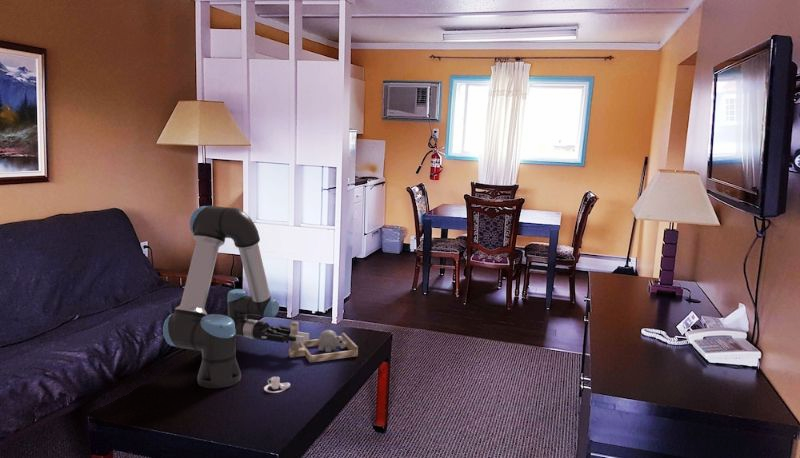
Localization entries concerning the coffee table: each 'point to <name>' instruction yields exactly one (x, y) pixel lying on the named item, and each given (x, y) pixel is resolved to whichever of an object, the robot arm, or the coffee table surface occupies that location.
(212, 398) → the coffee table surface
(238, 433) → the coffee table surface
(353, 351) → the pull frame
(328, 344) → the chubby cartoon animal
